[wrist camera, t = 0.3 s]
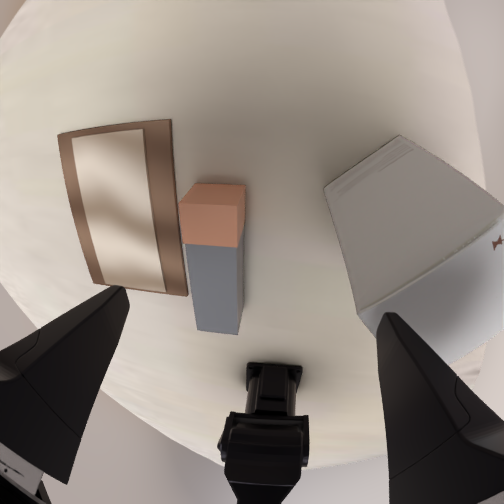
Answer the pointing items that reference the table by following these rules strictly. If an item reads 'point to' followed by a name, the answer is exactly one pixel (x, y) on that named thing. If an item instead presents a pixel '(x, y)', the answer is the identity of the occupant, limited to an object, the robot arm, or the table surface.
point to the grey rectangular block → (215, 253)
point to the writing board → (126, 204)
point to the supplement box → (422, 247)
